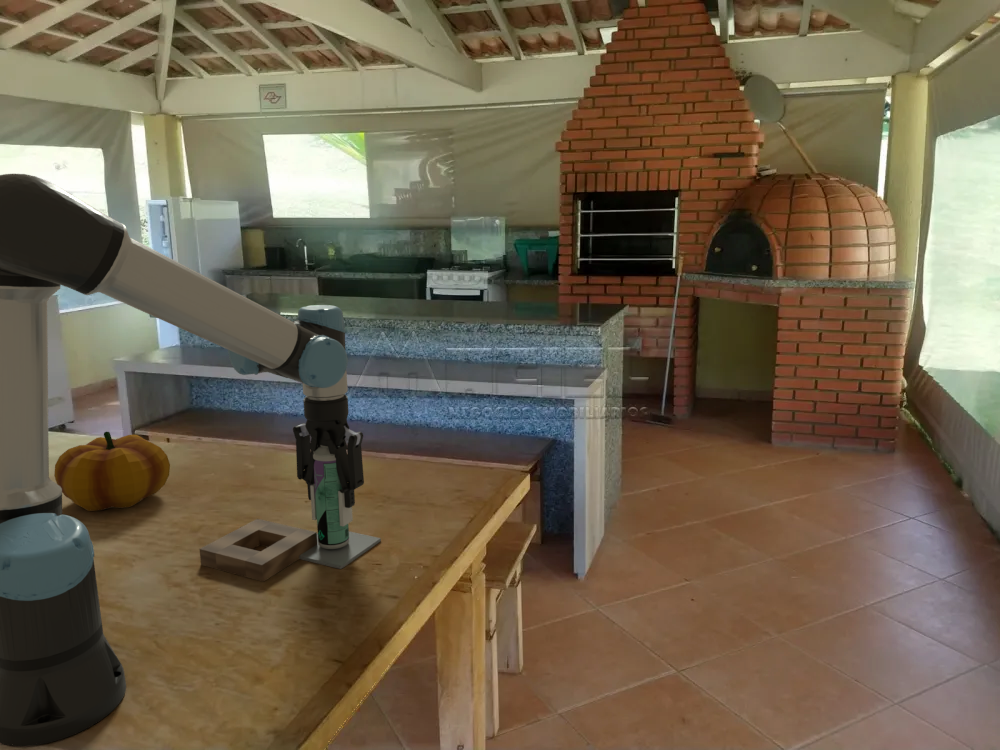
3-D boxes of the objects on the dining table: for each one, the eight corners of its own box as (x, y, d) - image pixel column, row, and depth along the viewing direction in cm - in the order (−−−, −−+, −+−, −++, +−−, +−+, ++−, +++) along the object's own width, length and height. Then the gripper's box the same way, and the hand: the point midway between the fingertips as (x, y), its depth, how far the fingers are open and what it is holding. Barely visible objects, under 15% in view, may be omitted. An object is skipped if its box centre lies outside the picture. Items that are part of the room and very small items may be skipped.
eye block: (263, 581, 124) (261, 565, 123) (201, 564, 130) (199, 548, 129) (317, 547, 136) (316, 532, 136) (258, 533, 142) (257, 518, 142)
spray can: (345, 533, 139) (339, 430, 135) (352, 545, 134) (347, 439, 130) (315, 539, 137) (309, 434, 133) (321, 551, 132) (315, 443, 128)
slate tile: (340, 569, 128) (340, 565, 128) (286, 555, 133) (285, 552, 133) (380, 541, 139) (380, 538, 139) (328, 529, 144) (328, 526, 144)
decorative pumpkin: (34, 516, 151) (23, 445, 147) (114, 478, 171) (106, 415, 168) (120, 526, 146) (111, 452, 142) (191, 485, 167) (184, 421, 163)
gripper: (269, 394, 130) (278, 519, 135) (356, 406, 122) (362, 537, 128) (297, 385, 137) (305, 504, 142) (382, 395, 129) (387, 521, 134)
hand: (332, 519), depth 135 cm, fingers closed on spray can, 5 cm apart
